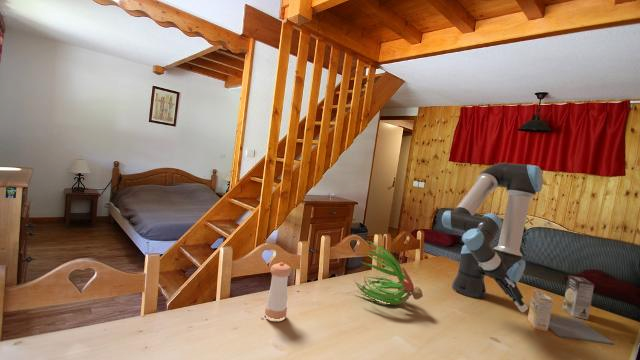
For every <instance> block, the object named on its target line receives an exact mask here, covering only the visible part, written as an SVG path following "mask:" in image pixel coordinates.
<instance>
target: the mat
mask: <svg viewBox="0 0 640 360" xmlns="http://www.w3.org/2000/svg"><path fill="white" fill-rule="evenodd" d="M548 330H550V331H551V332H552V333H554V335H556V336H557V337H559V338H560V337H561V338H566V339H567V338H568V339H573V340H574V339H576V340H582V341H588V342H593V343H594V342H595V343H600V344H606V345H607V344H608V345H614V342H613V341H612V340H610V339H609V338H607V337H606V336H604V335H602V334H601V333H599V332H598V331H596V330H595V329H594V328H592V327H590V326H589V325H587V323H584V322H583V321H582V320H580V319H579V318H578V319H577V318H571V317H563V316H556V315H552V314H551V315H550V320H549V326H548Z"/></svg>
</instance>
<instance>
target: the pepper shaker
mask: <svg viewBox="0 0 640 360" xmlns="http://www.w3.org/2000/svg"><path fill="white" fill-rule="evenodd" d="M269 271H270V274H271V280H270V281H271V282H270V288H269V292H268V294H267V303H266V305H265V310H264V315H265V314H266V315H267V316H268V317H270V318H274V319H280V318H283V317H285V316H286V317H287V313H288V307H287V301H288V281H289V276H290V275H291V273H292V269H291V267H290V266H289V265H288V264H287V263H284V262H282V261H281V262H279V263H274V264H273V265H272V266H271V267H270V269H269Z"/></svg>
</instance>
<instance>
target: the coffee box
mask: <svg viewBox="0 0 640 360" xmlns="http://www.w3.org/2000/svg"><path fill="white" fill-rule="evenodd" d="M594 288H595V284H594V283H593V282H591V281H589V280H588V279H586V278H585V277H581V276H576V275H567V282H566V288H565V294H564V297H563V303H562V309H564V311H566V312H567V313H568V314H569V315H570V316H572V317H573V318H578V319H584V320H589V315H590V314H589V313H590V310H591V305H592V300H593V293H594V290H595V289H594Z"/></svg>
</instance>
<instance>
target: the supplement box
mask: <svg viewBox="0 0 640 360" xmlns="http://www.w3.org/2000/svg"><path fill="white" fill-rule="evenodd" d="M553 303H554V299H553V298H552V296H550V295H549V294H548V293H547V292H545V291H542V290H538V289H532V292H531V297H530V303H529V308H528V309H529V310H528V316H527V321H529V324H531V326H532V327H533V328H534V329H535V330H537V331H543V332H548V330H549V328H548V326H549V320H550V315H551V316H552V314H551V312H552V308H553Z"/></svg>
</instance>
